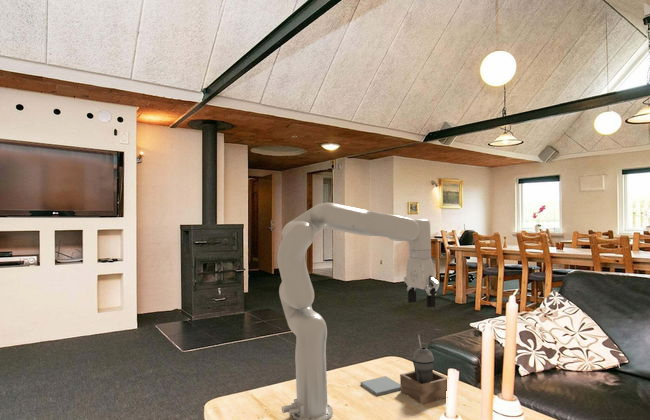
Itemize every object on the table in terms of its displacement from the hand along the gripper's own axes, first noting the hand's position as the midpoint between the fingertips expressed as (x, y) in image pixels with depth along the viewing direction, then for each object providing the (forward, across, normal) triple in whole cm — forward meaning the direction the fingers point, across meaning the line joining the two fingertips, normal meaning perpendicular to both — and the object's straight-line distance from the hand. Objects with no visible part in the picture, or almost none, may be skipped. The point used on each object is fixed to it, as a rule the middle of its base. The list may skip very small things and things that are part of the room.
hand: (421, 304), depth 141 cm
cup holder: (+30, +1, -1) cm, 30 cm away
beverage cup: (+30, +1, -1) cm, 30 cm away
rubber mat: (+30, -12, -9) cm, 34 cm away
